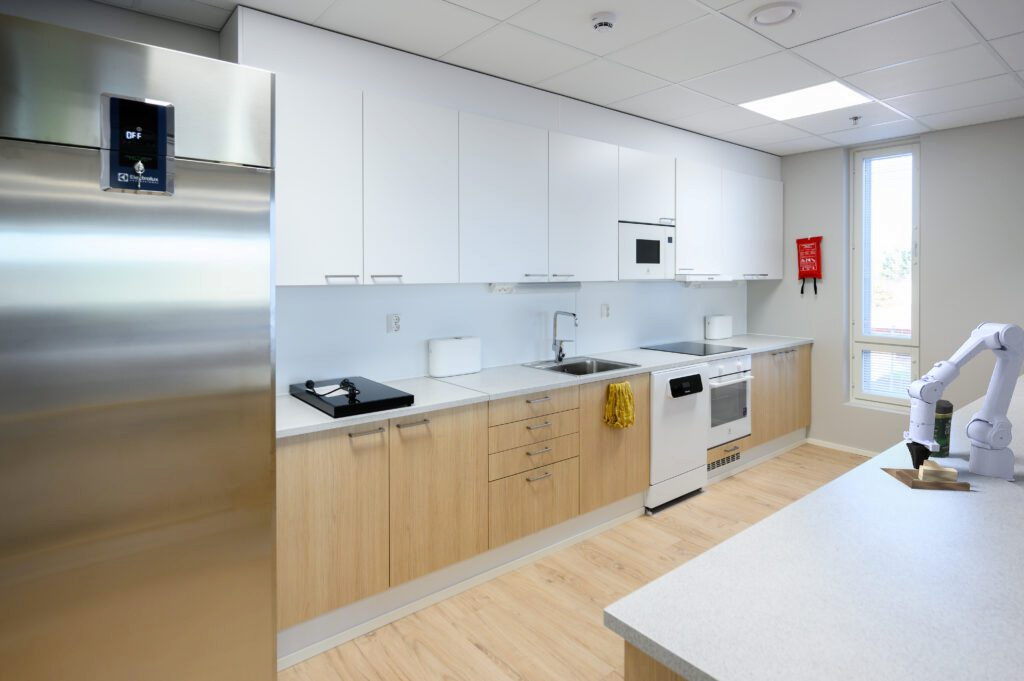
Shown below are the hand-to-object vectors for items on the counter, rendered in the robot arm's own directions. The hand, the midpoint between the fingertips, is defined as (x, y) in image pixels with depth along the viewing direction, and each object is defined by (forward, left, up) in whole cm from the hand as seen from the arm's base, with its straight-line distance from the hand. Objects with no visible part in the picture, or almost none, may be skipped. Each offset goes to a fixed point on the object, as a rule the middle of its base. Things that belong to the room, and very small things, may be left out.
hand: (918, 468), depth 165 cm
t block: (0, +7, 0) cm, 7 cm away
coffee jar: (-15, -20, -2) cm, 25 cm away
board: (+2, +6, -2) cm, 7 cm away
